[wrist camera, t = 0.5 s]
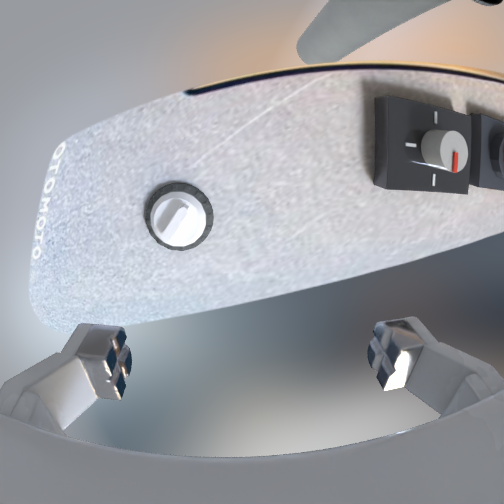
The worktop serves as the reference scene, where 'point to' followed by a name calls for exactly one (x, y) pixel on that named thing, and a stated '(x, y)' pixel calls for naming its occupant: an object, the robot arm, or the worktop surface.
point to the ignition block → (487, 152)
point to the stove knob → (179, 216)
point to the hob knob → (444, 150)
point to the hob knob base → (415, 146)
